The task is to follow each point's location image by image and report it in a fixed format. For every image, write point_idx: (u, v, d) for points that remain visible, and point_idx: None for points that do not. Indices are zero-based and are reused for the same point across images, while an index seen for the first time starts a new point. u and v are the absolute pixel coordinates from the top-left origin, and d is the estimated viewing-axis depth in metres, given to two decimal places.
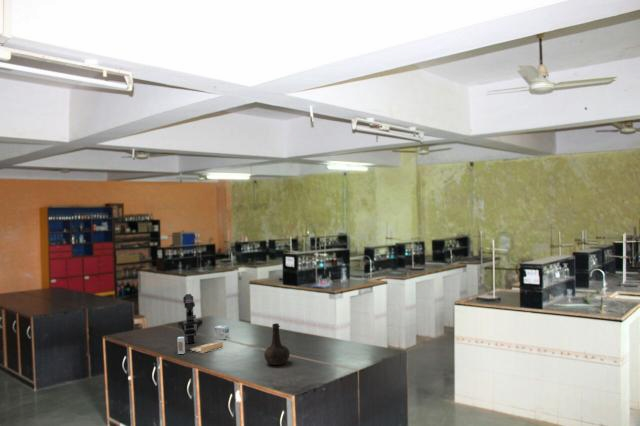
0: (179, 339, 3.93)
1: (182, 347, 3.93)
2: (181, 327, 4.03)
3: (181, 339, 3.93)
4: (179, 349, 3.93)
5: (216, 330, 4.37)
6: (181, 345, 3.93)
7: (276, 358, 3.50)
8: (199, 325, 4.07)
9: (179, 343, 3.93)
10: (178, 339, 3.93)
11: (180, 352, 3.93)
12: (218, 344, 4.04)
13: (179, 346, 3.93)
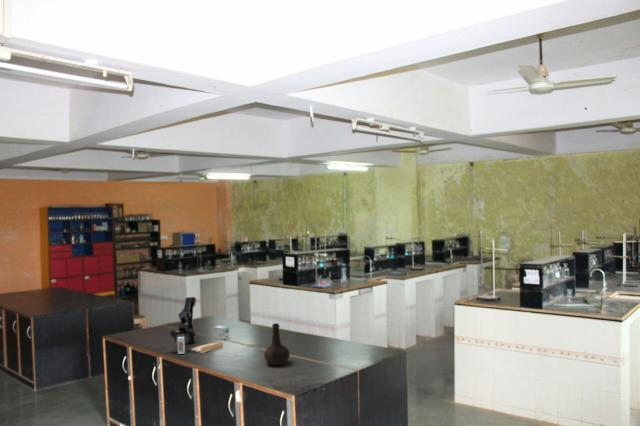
0: (179, 339, 3.93)
1: (182, 347, 3.93)
2: None
3: (181, 339, 3.93)
4: (179, 349, 3.93)
5: (216, 330, 4.37)
6: (181, 345, 3.93)
7: (276, 358, 3.50)
8: (191, 334, 4.02)
9: (179, 343, 3.93)
10: (178, 339, 3.93)
11: (180, 352, 3.93)
12: (218, 344, 4.04)
13: (179, 346, 3.93)
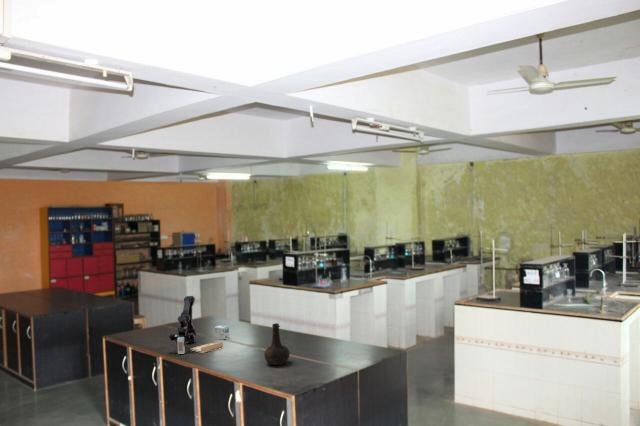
0: (179, 339, 3.93)
1: (182, 347, 3.93)
2: None
3: (181, 339, 3.93)
4: (179, 349, 3.93)
5: (216, 330, 4.37)
6: (181, 345, 3.93)
7: (276, 358, 3.50)
8: (188, 338, 3.99)
9: (179, 343, 3.93)
10: (178, 339, 3.93)
11: (180, 352, 3.93)
12: (218, 344, 4.04)
13: (179, 346, 3.93)
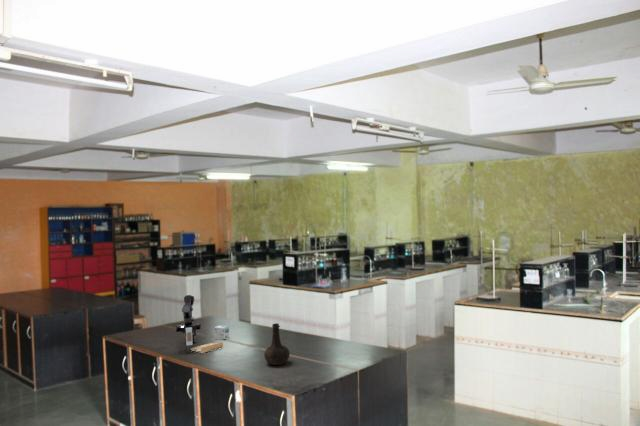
0: (187, 330, 3.95)
1: (191, 337, 3.95)
2: (182, 330, 3.99)
3: (190, 329, 3.95)
4: (188, 339, 3.95)
5: (216, 330, 4.37)
6: (190, 335, 3.95)
7: (276, 358, 3.50)
8: (194, 329, 4.02)
9: (188, 333, 3.94)
10: (187, 330, 3.94)
11: (189, 342, 3.95)
12: (218, 344, 4.04)
13: (188, 336, 3.94)
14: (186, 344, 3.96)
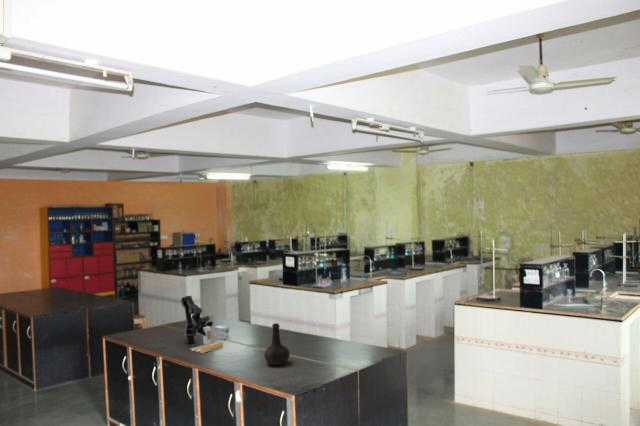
0: (207, 328, 4.02)
1: (210, 335, 4.04)
2: (198, 330, 4.03)
3: (209, 328, 4.04)
4: (208, 338, 4.02)
5: (216, 330, 4.37)
6: (209, 334, 4.04)
7: (276, 358, 3.50)
8: None
9: (208, 332, 4.03)
10: (207, 328, 4.02)
11: (208, 341, 4.03)
12: (218, 344, 4.04)
13: (208, 335, 4.02)
14: (205, 343, 4.02)
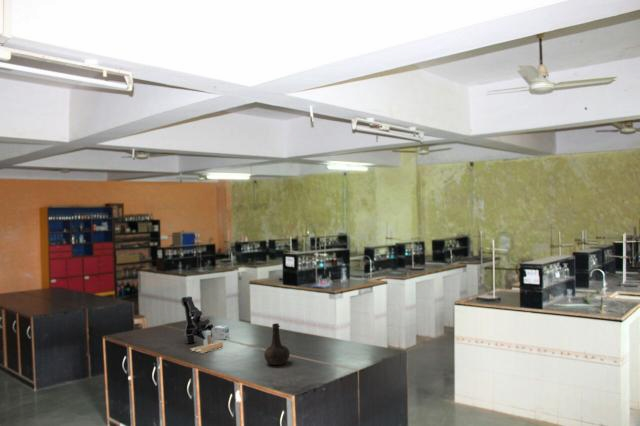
0: (207, 333, 4.02)
1: (210, 340, 4.04)
2: (197, 334, 4.01)
3: (209, 332, 4.04)
4: (208, 342, 4.02)
5: (216, 330, 4.37)
6: (209, 338, 4.04)
7: (276, 358, 3.50)
8: (209, 330, 4.12)
9: (208, 336, 4.03)
10: (207, 333, 4.02)
11: None
12: (218, 344, 4.04)
13: (208, 339, 4.02)
14: None
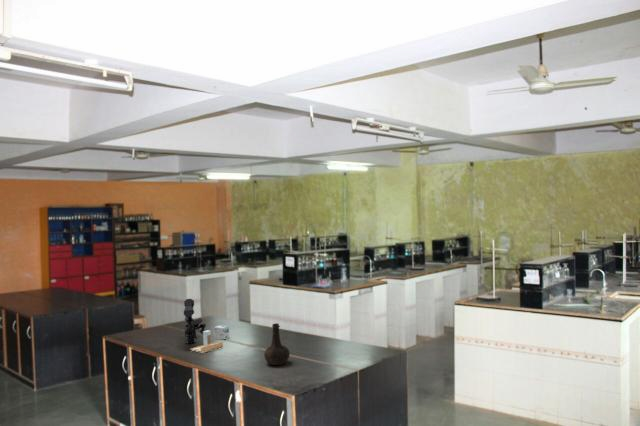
0: (207, 333, 4.02)
1: (210, 340, 4.04)
2: (189, 333, 4.06)
3: (209, 332, 4.04)
4: (208, 342, 4.02)
5: (216, 330, 4.37)
6: (209, 338, 4.04)
7: (276, 358, 3.50)
8: None
9: (208, 336, 4.03)
10: (207, 333, 4.02)
11: None
12: (218, 344, 4.04)
13: (208, 339, 4.02)
14: None
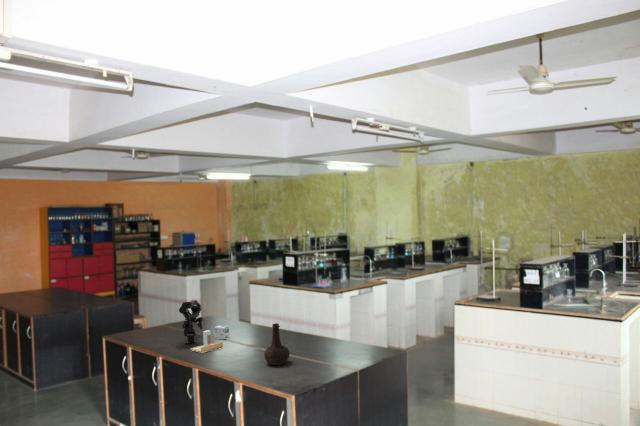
0: (207, 333, 4.02)
1: (210, 340, 4.04)
2: (186, 326, 4.12)
3: (209, 332, 4.04)
4: (208, 342, 4.02)
5: (216, 330, 4.37)
6: (209, 338, 4.04)
7: (276, 358, 3.50)
8: None
9: (208, 336, 4.03)
10: (207, 333, 4.02)
11: None
12: (218, 344, 4.04)
13: (208, 339, 4.02)
14: None
